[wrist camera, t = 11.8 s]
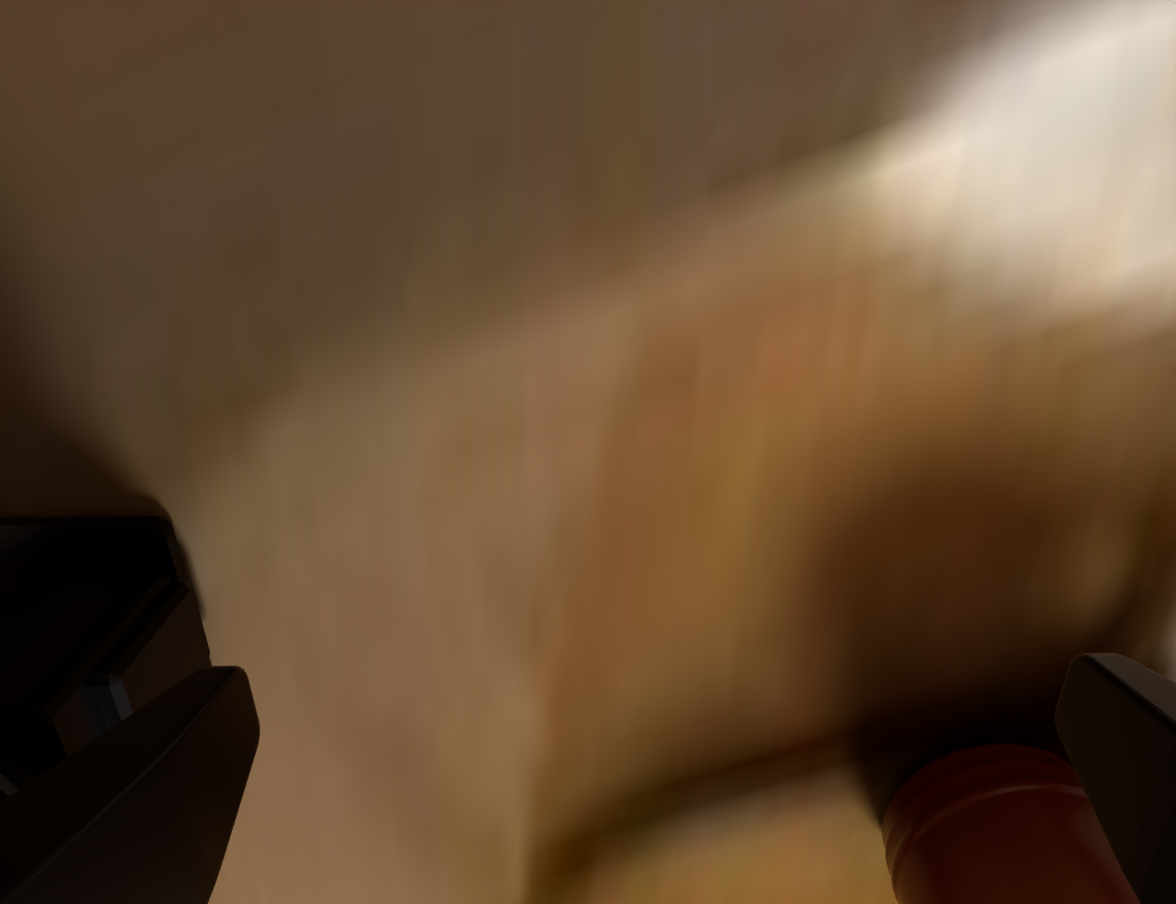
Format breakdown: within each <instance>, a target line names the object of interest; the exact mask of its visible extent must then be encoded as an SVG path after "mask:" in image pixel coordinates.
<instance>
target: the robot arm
mask: <svg viewBox="0 0 1176 904" xmlns="http://www.w3.org/2000/svg"><path fill="white" fill-rule="evenodd" d="M147 531H151V532H153V533H154V534H156V536H157V537H158V539H155V538H153V537H151V536H150V535H149V534H148V532H147ZM209 655H210V650H209V646H208V643H207V639H206V635H205V632H204V628H203V625H202V621H201V617H200V614H199V610H198V606H197V603H196V599H195V595H194V592H193V589H192V588H191V587H190V585H189V584H188V582H187V579H186V575H185V571H184V568H183V564H182V561H181V557H180V553H179V550H178V546H177V542H176V539H175V535H174V532H173V529H172V527H171V525H170V524H169V523H167V522H166V521H165V520H163V519H161V518H159V517H154V516H134V517H73V518H11V519H0V904H208V901H209V899H210V896H211V894H212V891H213V889H214V886H215V883H216V880H217V877H218V874H219V871H220V868H221V865H222V862H223V859H224V856H225V853H226V849H227V846H228V843H229V839H230V836H231V833H232V830H233V826H234V823H235V820H236V816H237V813H238V810H239V807H240V803H241V800H242V797H243V793H244V790H245V787H246V784H247V780H248V777H249V774H250V770H251V767H252V764H253V760H254V757H255V754H256V751H257V747H258V743H259V737H260V724H259V719H258V715H257V711H256V707H255V703H254V699H253V695H252V691H251V687H250V683H249V679H248V676H247V674H246V672H245V671H244V669H243V668H241V667H239V666H210V662H209V658H208V657H209ZM1055 723H1056V728H1057V732H1058V735H1059V737H1060V739H1061V742H1062V744H1063V746H1064V748H1065V750H1066V752H1067V755H1068V757H1069V759H1070V761H1071V763H1072V765H1073V768H1074V770H1075V772H1076V774H1077V776H1078V779H1079V781H1080V783H1081V785H1082V787H1083V789H1084V792H1085V794H1086V796H1087V798H1088V800H1089V802H1090V805H1091V807H1092V809H1093V811H1094V813H1095V815H1096V818H1097V820H1098V822H1099V824H1100V826H1101V828H1102V831H1103V833H1104V835H1105V837H1106V839H1107V841H1108V844H1109V846H1110V848H1111V850H1112V852H1113V854H1114V856H1115V858H1116V860H1117V862H1118V864H1119V866H1120V868H1121V870H1122V872H1123V874H1124V876H1125V877H1126V879H1127V881H1128V883H1129V885H1130V887H1131V888H1132V890H1133V892H1134V894H1135V896H1136V897H1137V899H1138V901H1139V903H1140V904H1176V682H1174V681H1172V680H1170V679H1168V678H1166V677H1164V676H1162V675H1160V674H1158V673H1156V672H1154V671H1152V670H1150V669H1148V668H1146V667H1144V666H1142V665H1140V664H1138V663H1137V662H1135V661H1133V660H1131V659H1129V658H1127V657H1125V656H1123V655H1120V654H1116V653H1082V654H1079V655H1076V656H1075V657H1074V658H1073V659H1072V660H1071V662H1070V665H1069V668H1068V671H1067V674H1066V677H1065V681H1064V684H1063V687H1062V690H1061V694H1060V697H1059V700H1058V703H1057V707H1056V711H1055Z"/></svg>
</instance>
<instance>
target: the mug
mask: <svg viewBox="0 0 1176 904" xmlns="http://www.w3.org/2000/svg"><path fill="white" fill-rule="evenodd" d="M882 836H883V842H884V846H885V853H886V862H887V867H888V870H889V873H890V875H891V880H892V887H893V891H894V894H895V897H896V899H897V901H898V903H899V904H1140V903H1139V901H1138V899H1137V897H1136V896H1135V894H1134V892H1133V890H1132V888H1131V887H1130V885H1129V883H1128V881H1127V879H1126V877H1125V876H1124V874H1123V872H1122V870H1121V868H1120V866H1119V864H1118V862H1117V860H1116V858H1115V856H1114V854H1113V852H1112V850H1111V848H1110V846H1109V844H1108V841H1107V839H1106V837H1105V835H1104V833H1103V831H1102V828H1101V826H1100V824H1099V822H1098V820H1097V818H1096V815H1095V813H1094V811H1093V809H1092V807H1091V805H1090V802H1089V800H1088V798H1087V796H1086V794H1085V792H1084V789H1083V787H1082V785H1081V783H1080V781H1079V779H1078V776H1077V774H1076V772H1075V770H1074V769H1073V768H1072V767H1071V766H1070V765H1069V764H1068V763H1067V762H1065V761H1064V760H1063V759H1061V758H1060V757H1059V756H1057V755H1056V754H1054V753H1052V752H1050V751H1047V750H1044V749H1041V748H1037V747H1032V746H1027V745H1020V744H1009V743H997V744H983V745H975V746H970V747H965V748H962V749H958V750H955V751H952V752H949V753H947V754H944V755H942V756H940V757H938V758H936V759H934V760H932V761H930V762H929V763H927V764H926V765H924V766H923V767H921V768H920V769H919V770H917V771H916V772H915V773H914V774H913V775H912V776H910V777H909V778H908V779H907V780H906V781H905V782H904V783H903V784H902V785H901V787H900V788H899V789H898V790H897V791H896V793H895V794H894V796H893V797H892V799H891V801H890V803H889V805H888V807H887V809H886V812H885V815H884V819H883V826H882Z"/></svg>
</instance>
